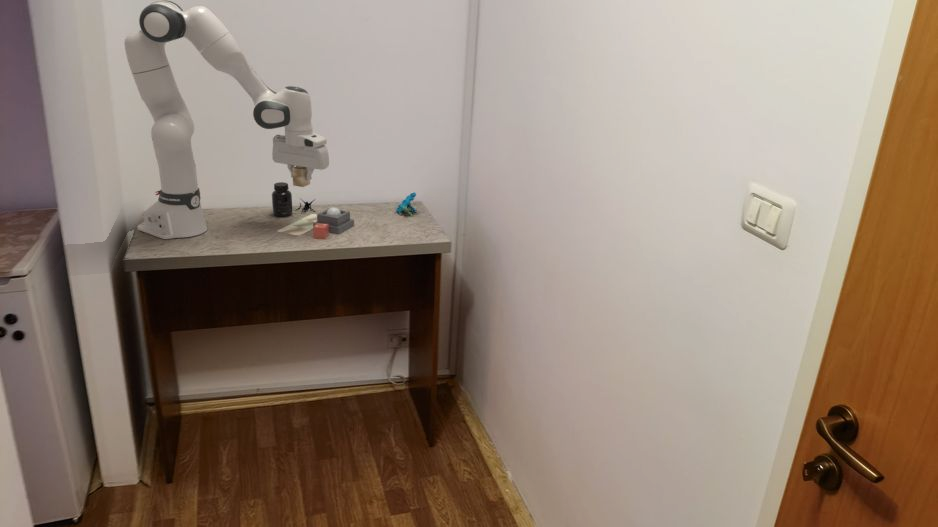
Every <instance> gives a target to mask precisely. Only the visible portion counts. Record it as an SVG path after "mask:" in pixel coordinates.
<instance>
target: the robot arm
mask: <svg viewBox="0 0 938 527" xmlns="http://www.w3.org/2000/svg"><path fill="white" fill-rule="evenodd" d="M138 19H139V21H138V22H139V27H140V29H139V30H135V31H133V32H131V33H129V34H128V35H127V36H126V37H125V39H124V42H123V43H124V49H125V50H124V51H125V55H126V58H127V62H128V66H129V70H130V72H131V75H132V77H133V80H134V83H135V86H136V87H137V90H138V93H139V96H140V97H141V98H140V99H141V100H142V101H143V103H144V104H145V106H146V108H147V109H148V112H149V113H150V115H151V116H152V118H153V121H154V123H153V125H152V127H151V131H150V133H151V134H150V135H151V136H150V137H151V139H152V140H151V142H152V144H153V150H154V154H155V158H156V162H157V165H158V171H159V180H160V188H161V189H160V190H158V191H155V192H154V193H155V196H158V199H157V201H156V202H155V203H153V204H152V205H151V206H149V207H148V208H147V209H146V210H145V211H144V215H143V217H144V218H143V220H144V221H143V222H142V223H139V224H138V226H137V227H136V228H137V230H138V231H140V232H142V233H143V232H144V233H145V234H148V235H151V236H154V237H156V238H160V239H162V240H170V239H176V238H178V239H179V238H189V237H195V236H199V235H202V234H204V233H205V232H206V231H208V227H207V222H206V219H205V217H204V214H203V208H202V204H201V191H200V187H199V186H198V185H199V184H198V176H197V175H198V174H197V167H196V166H197V164H196V163H195V158H194V154H193V148H192V137H193V134H194V132H195V123H194V121H193V118H192V116H191V113H190V112H189V109H188V107H187V104H186V102H185V101H184V98H183V97H182V94H181V92H180V91H179V88H178V85H177V82H176V80H175V76H174V74H173V71H172V68H171V66H170V62H169V60H168V57H167V55H166V49H165V48H166V44H167V43H169V42H171V41H177V40H179V39H183V38H184V39H186V40H188V41H189V42H190V43H191V44H192V45H193V46H194V47H195V49H196V50H197V51H198V52H199V54H200V56H201V57H202V58H203V59H205V61H206V62H207V63H208V64H209V65H210V66H212V68H214V69H215V70H216V71H218V72H222V73H225V74H227V75H229V76H231V77H232V78H233V79H235V81H237V82H238V84H239V85H240V86H241V88H243V89H244V91H245V92H246V93H247V95H249V97H250V98H251V99H252V101H253V103H254V107H253V111H252V113H253V114H252V115H253V116H252V117H253V119H254V121H255V123H256V124H257V125H258V126H259V127H261V128H263V129H264V130H275V129H278V128H280V129H281V128H283V127H284V135H281V134H276V135H274V137H273V138H272V154H271V156H272V160H273V162H274V163H277V164H282V165H287V169H288V171H289V172H290V177H291V178H292V179H293V175H292V168H293V167H296V166H301V167H307V171H308V173H307V174H306V175H305V180H310V181H311V180H312V179H313V178H312V175H313V173H314V170H320V171H323V170H326V169H327V168H328V167H329V165H330V158H329V157H330V155H329V149H328V148H327V146H326V144H327V137H325V136H322V135H321V134H318V133H317V132H315V131H313V129H314V128H313V125H312V116H313V111H312V102H311V96H310V94H309V92H308V91H307V89H305V88H302V87H299V86H290V85H289V86H288V85H287V86H285V87H284V88H283V89H282V90H280V91H278V92H276V91H274V90H272V89H271V88H269V87H268V86H267V85H266V83H265V82H264V81H263V80H262V79H261V77H260V76H259V75H258V74H257V72H256V71H255V70H254V69H253V67H252V66H251V65H250V63H249V61H248V60H247V59H246V57H245V54H244V52H243V51H242V48H241V47H240V46H239V44H238V42H237V41H236V39H235V37H234V36H233V34H232V33H231V32H230V31H229V29H228V28H227V27H226V26H225V24H224V23H223V22H222V21H221V20H220V19H219V18H218V16H216V15H215V14H214V13H213V12H212V11H211V10H210V9H209V8H208V7H206V6H203V5H195V6H193V7H190V8H189V9H187V10H185V11H183V9H182V7H181V6H179V4H177V3H175V2H174V1H171V0H157V1H154V2H151V3H150V4H149V5H147V6H146V7H144V8H143V10H142V11H141V12H140V15H139V18H138Z"/></svg>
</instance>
